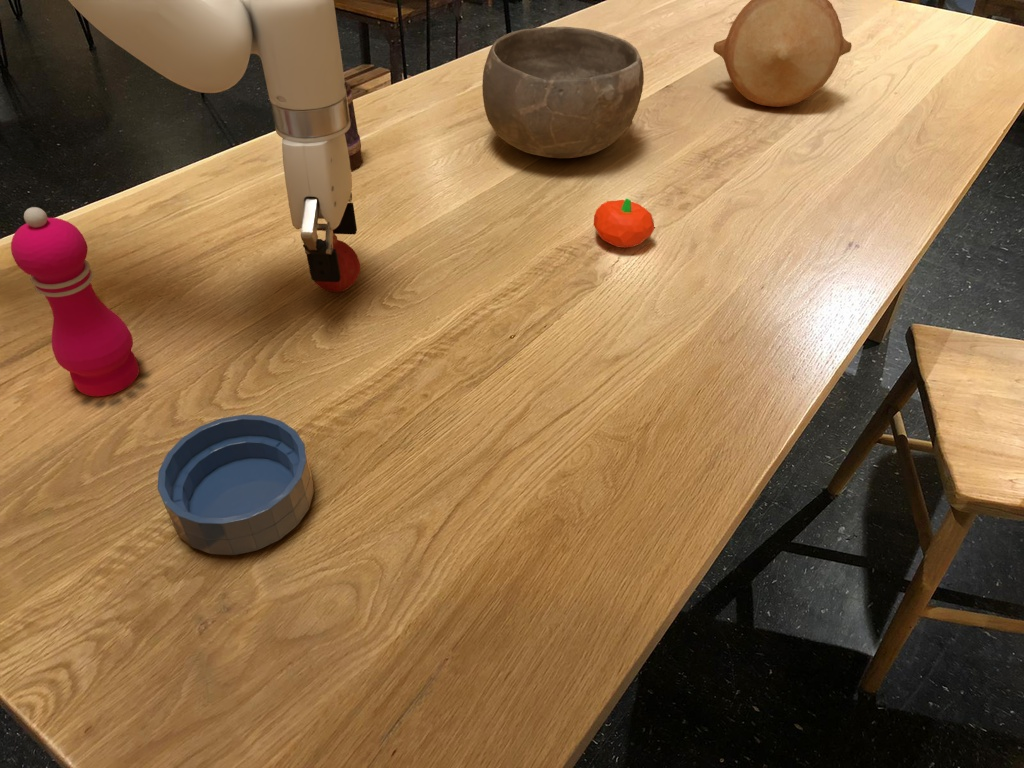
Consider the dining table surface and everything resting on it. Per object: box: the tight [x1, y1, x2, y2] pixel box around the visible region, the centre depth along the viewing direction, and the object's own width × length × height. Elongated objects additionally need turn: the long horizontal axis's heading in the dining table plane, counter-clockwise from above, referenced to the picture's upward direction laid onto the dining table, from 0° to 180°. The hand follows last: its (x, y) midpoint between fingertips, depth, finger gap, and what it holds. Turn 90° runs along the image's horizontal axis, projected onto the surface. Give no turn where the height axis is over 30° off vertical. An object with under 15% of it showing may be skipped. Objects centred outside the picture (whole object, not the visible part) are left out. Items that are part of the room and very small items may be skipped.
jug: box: [712, 0, 853, 108], centre depth 136 cm, size 20×19×30 cm
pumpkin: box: [593, 198, 656, 249], centre depth 100 cm, size 7×8×6 cm
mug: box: [345, 81, 363, 171], centre depth 111 cm, size 10×7×12 cm
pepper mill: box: [10, 206, 140, 397], centre depth 74 cm, size 7×7×20 cm
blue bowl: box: [157, 414, 315, 556], centre depth 67 cm, size 12×12×5 cm
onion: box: [308, 234, 361, 294], centre depth 90 cm, size 6×6×8 cm
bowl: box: [481, 26, 645, 159], centre depth 117 cm, size 24×24×15 cm
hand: (335, 255), depth 89 cm, fingers open, 9 cm apart
